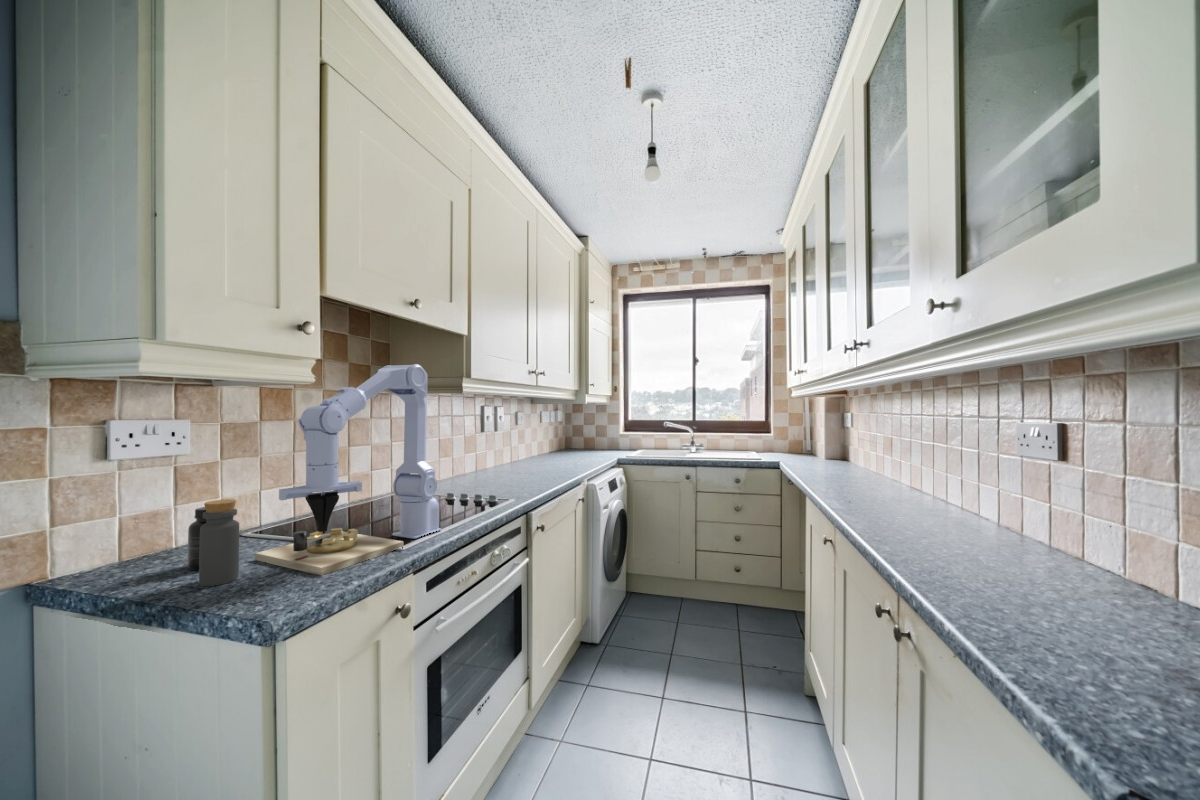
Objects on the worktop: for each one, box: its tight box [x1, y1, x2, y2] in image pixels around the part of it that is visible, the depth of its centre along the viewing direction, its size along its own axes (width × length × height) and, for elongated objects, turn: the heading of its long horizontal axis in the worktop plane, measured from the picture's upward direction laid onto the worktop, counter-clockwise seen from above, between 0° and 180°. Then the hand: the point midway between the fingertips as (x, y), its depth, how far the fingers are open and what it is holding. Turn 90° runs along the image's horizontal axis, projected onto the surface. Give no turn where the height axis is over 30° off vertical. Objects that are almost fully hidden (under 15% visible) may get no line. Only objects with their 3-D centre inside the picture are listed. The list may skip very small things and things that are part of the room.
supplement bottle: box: [187, 506, 207, 571], centre depth 97 cm, size 7×7×12 cm
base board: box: [254, 530, 405, 577], centre depth 105 cm, size 20×22×2 cm
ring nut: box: [292, 527, 359, 553], centre depth 103 cm, size 10×15×6 cm, turn 170°
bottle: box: [198, 498, 240, 587], centre depth 89 cm, size 6×6×15 cm
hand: (322, 530), depth 95 cm, fingers closed
